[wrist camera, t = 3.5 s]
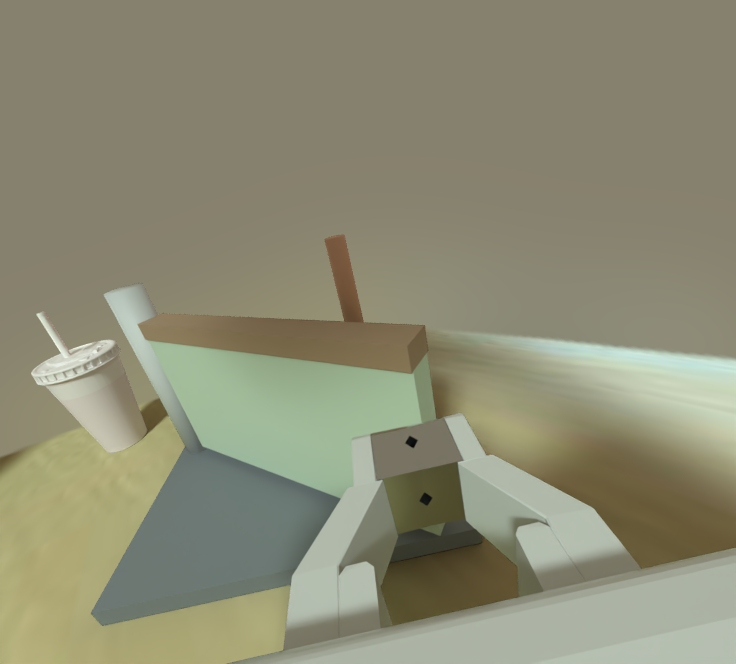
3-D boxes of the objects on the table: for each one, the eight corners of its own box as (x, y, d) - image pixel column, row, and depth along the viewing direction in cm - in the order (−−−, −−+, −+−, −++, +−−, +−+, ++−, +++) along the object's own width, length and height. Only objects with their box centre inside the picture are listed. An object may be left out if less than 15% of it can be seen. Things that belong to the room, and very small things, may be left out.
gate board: (102, 626, 19) (-112, 395, 12) (228, 386, 40) (173, 259, 34) (482, 542, 19) (457, 271, 12) (402, 348, 41) (378, 215, 34)
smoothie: (107, 429, 37) (30, 309, 31) (169, 411, 38) (105, 291, 32) (75, 472, 31) (-26, 335, 26) (149, 450, 32) (67, 312, 26)
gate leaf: (200, 447, 28) (137, 324, 23) (219, 432, 29) (162, 313, 25) (439, 538, 17) (407, 346, 13) (450, 508, 19) (424, 325, 14)
